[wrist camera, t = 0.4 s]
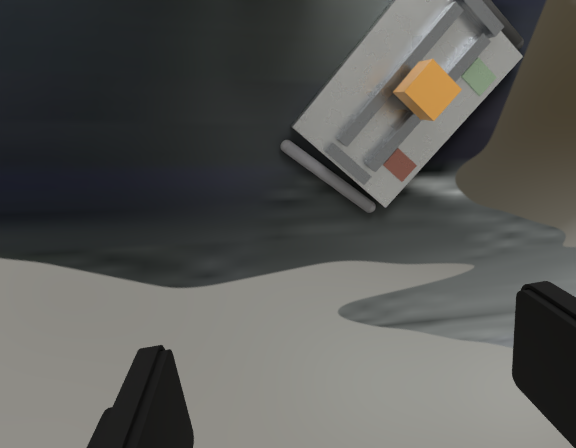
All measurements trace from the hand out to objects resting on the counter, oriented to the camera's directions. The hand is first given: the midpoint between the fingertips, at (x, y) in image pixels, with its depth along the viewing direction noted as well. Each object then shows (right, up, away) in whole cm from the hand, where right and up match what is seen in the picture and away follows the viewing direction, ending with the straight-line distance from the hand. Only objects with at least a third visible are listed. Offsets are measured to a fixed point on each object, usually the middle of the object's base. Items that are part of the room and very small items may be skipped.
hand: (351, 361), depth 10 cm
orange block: (+11, +17, +30) cm, 37 cm away
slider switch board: (+11, +18, +32) cm, 39 cm away
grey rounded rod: (+3, +9, +34) cm, 36 cm away
